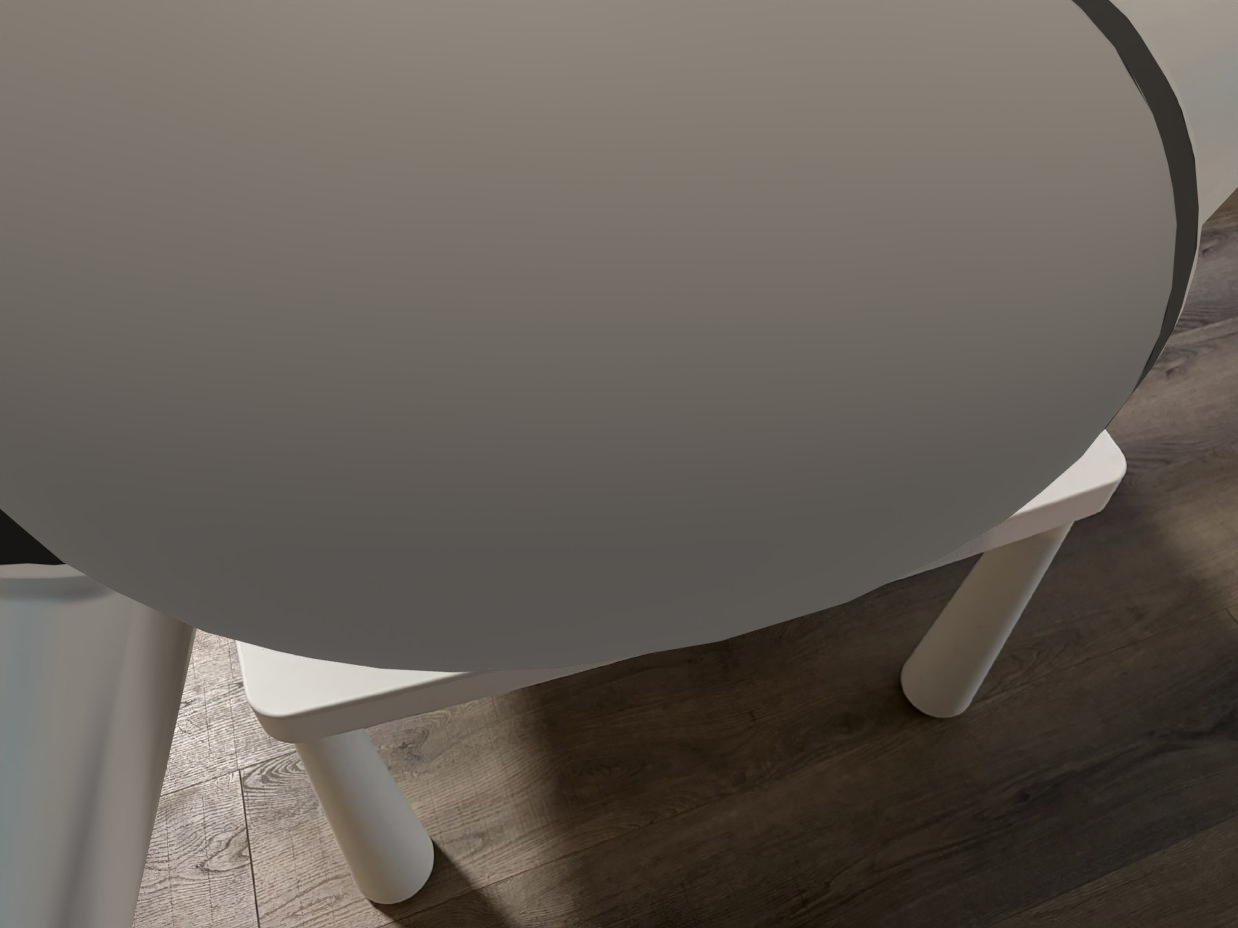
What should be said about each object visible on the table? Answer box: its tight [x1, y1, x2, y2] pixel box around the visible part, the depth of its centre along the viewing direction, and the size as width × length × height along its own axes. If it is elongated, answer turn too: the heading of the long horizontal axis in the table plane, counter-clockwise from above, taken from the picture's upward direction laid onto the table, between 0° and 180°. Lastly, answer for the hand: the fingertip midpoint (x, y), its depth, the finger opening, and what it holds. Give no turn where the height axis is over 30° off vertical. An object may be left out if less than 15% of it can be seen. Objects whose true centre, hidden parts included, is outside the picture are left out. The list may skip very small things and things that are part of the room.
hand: (313, 110), depth 53 cm, fingers closed on block, 5 cm apart
